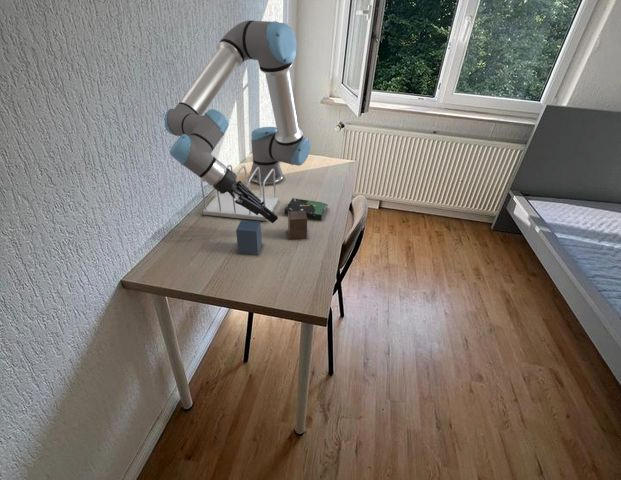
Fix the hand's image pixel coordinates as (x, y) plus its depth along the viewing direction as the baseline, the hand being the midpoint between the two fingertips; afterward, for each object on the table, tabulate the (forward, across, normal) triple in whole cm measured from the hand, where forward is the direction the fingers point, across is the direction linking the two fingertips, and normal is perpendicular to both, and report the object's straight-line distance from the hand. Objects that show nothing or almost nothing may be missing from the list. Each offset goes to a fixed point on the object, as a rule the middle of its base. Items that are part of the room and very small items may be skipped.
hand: (275, 219), depth 119 cm
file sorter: (-3, -21, -12) cm, 25 cm away
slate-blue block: (-2, +8, -11) cm, 13 cm away
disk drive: (+14, -15, +5) cm, 21 cm away
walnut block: (+10, +1, +1) cm, 10 cm away
